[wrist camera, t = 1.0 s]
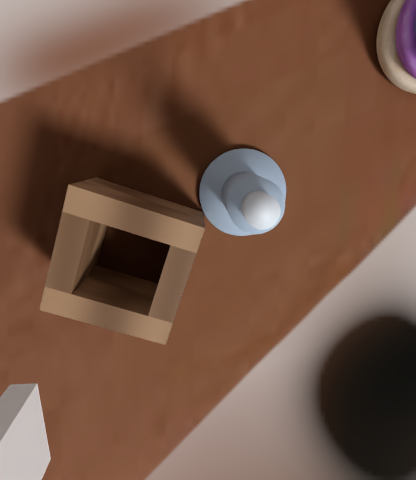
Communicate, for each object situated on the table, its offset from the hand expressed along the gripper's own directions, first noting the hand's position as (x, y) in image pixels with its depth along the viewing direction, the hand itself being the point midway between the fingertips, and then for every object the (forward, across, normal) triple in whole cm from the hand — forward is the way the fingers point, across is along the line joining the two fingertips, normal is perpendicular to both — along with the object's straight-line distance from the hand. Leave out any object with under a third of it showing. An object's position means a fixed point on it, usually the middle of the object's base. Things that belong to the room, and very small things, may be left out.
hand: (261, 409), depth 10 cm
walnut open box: (+19, -7, 0) cm, 20 cm away
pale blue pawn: (+19, +2, +4) cm, 20 cm away
